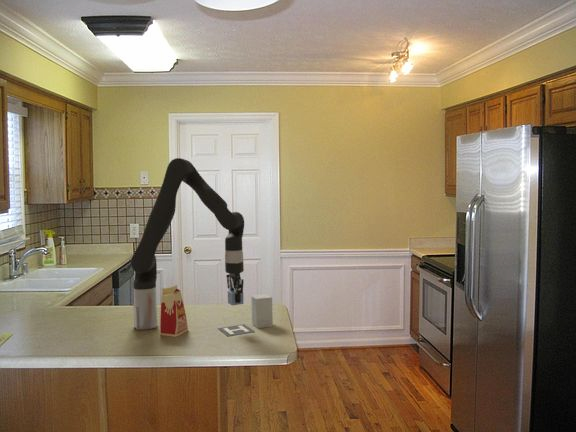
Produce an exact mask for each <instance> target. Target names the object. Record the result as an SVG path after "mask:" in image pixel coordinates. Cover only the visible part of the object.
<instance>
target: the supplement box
mask: <svg viewBox="0 0 576 432" xmlns="http://www.w3.org/2000/svg"><path fill="white" fill-rule="evenodd" d="M250 297H251V324H252V325H253V326H254V327H255V328H256V329H259V328H261V329H262V328H270V327H273V326H274V323H273V322H274V321H273V319H274V318H273V297H272V296H270V295H269V294H268V293H262V294H253V295H251V296H250Z"/></svg>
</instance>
